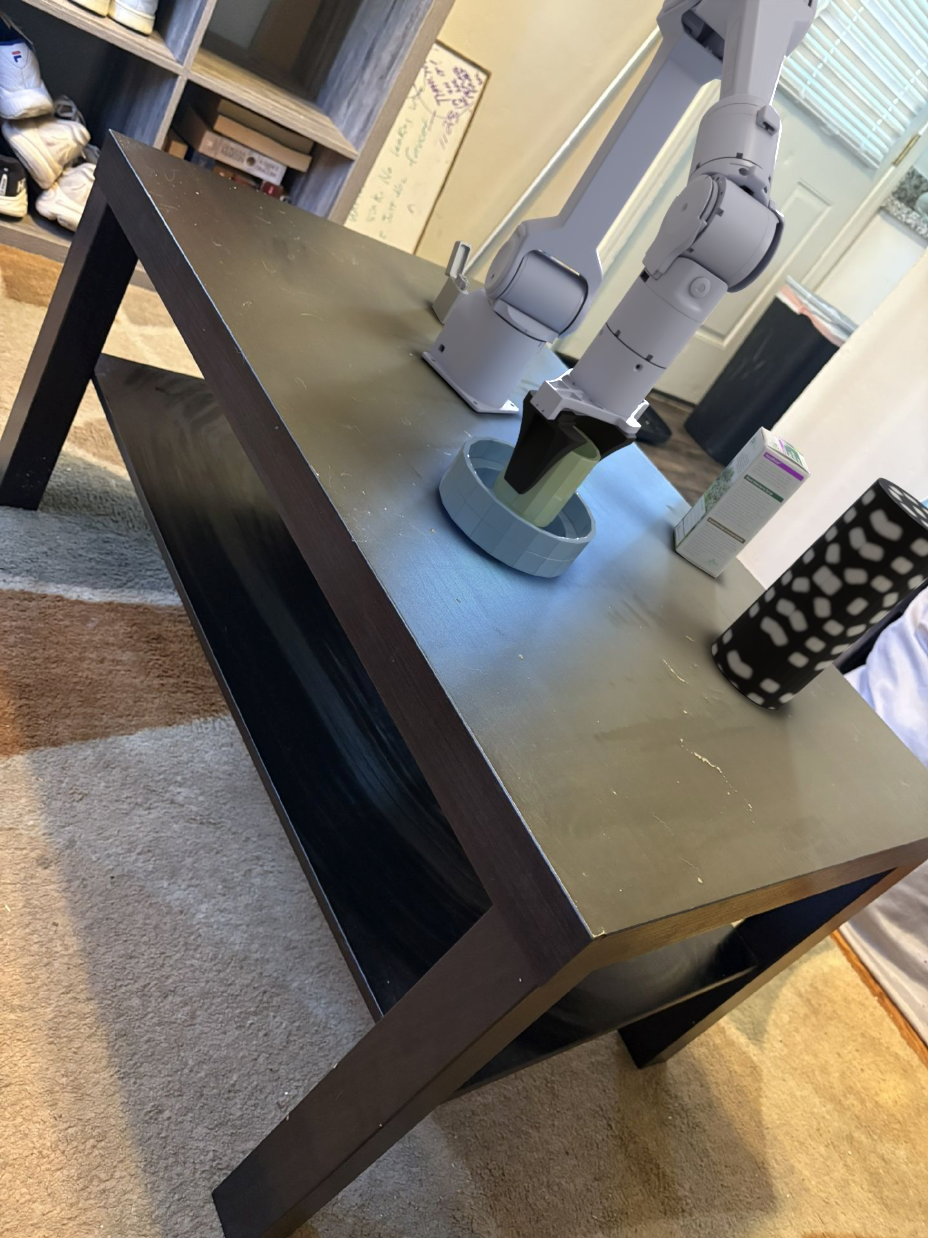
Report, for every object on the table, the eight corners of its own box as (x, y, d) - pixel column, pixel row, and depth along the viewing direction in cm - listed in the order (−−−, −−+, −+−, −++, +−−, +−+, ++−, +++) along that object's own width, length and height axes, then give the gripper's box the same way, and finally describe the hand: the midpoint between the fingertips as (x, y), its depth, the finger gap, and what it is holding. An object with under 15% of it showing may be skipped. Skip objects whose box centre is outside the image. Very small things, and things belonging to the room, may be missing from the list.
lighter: (452, 327, 105) (488, 268, 101) (440, 322, 104) (476, 262, 100) (436, 299, 109) (469, 241, 105) (425, 294, 108) (458, 235, 104)
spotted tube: (790, 724, 77) (976, 564, 67) (715, 678, 76) (894, 506, 66) (776, 670, 84) (942, 517, 74) (707, 626, 83) (867, 464, 72)
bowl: (407, 479, 71) (434, 435, 69) (496, 474, 81) (522, 436, 79) (509, 592, 67) (542, 550, 65) (589, 572, 77) (620, 535, 75)
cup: (479, 481, 71) (527, 412, 68) (518, 478, 76) (564, 414, 72) (525, 529, 69) (577, 461, 66) (562, 524, 74) (612, 460, 70)
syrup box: (716, 580, 93) (816, 476, 85) (672, 550, 92) (768, 442, 84) (713, 555, 98) (806, 455, 90) (670, 527, 97) (761, 423, 89)
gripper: (631, 372, 58) (518, 524, 65) (711, 383, 69) (607, 511, 76) (561, 307, 60) (458, 461, 67) (649, 328, 71) (554, 458, 78)
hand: (534, 484), depth 72 cm, fingers closed on cup, 6 cm apart
